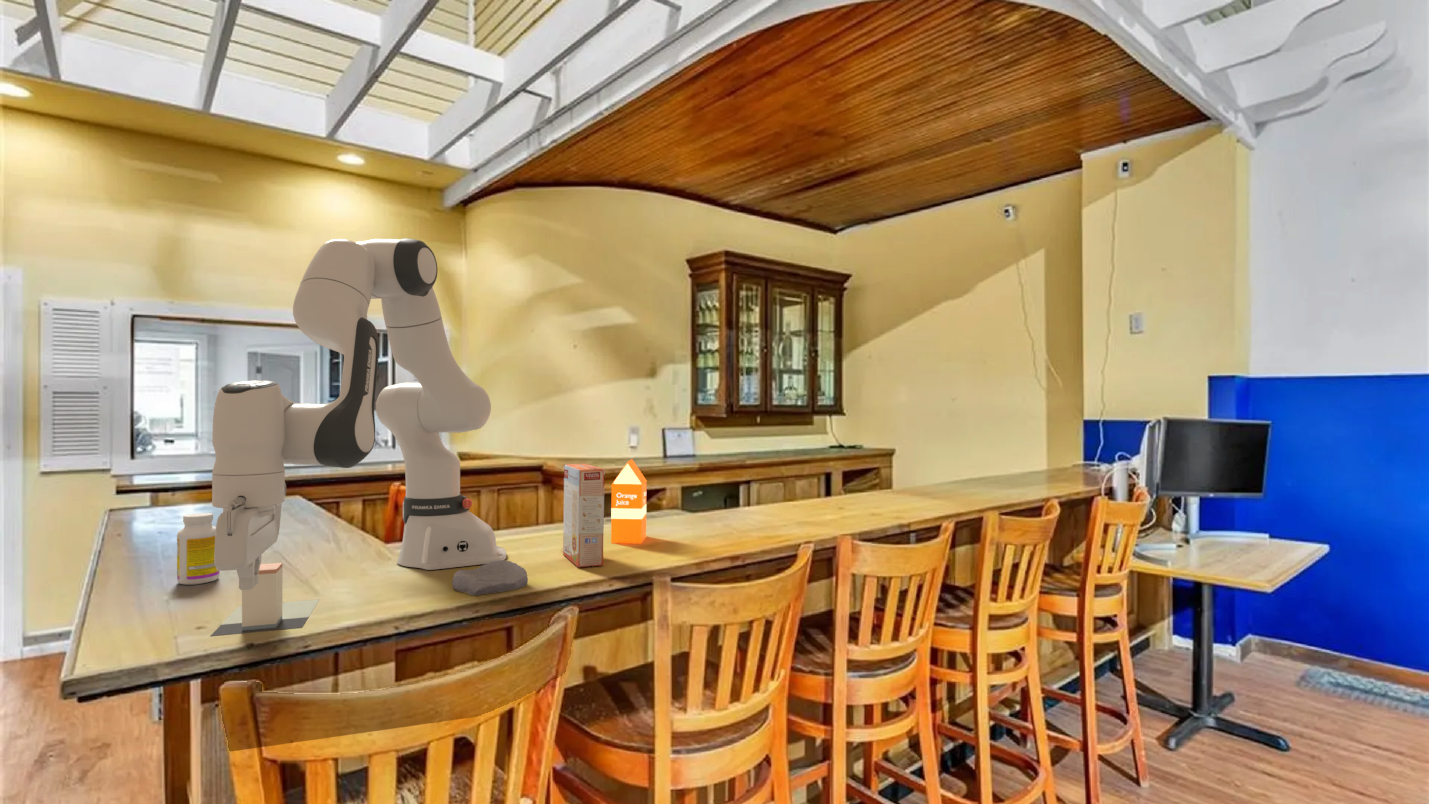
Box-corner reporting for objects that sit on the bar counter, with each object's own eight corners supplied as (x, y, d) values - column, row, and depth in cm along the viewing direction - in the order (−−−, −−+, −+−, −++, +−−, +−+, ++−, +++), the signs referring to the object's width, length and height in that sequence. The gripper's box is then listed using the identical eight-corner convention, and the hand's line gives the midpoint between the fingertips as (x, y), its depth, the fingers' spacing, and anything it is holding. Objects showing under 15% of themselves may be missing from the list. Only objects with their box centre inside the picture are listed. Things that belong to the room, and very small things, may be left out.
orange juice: (610, 542, 177) (611, 461, 177) (616, 535, 186) (617, 458, 185) (642, 543, 177) (642, 462, 176) (646, 536, 185) (647, 459, 185)
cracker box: (605, 566, 153) (605, 468, 153) (577, 569, 150) (577, 469, 150) (588, 552, 166) (588, 462, 165) (562, 555, 163) (562, 463, 163)
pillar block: (282, 618, 115) (282, 562, 114) (276, 627, 110) (276, 569, 110) (249, 621, 113) (249, 564, 113) (241, 630, 109) (242, 571, 109)
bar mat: (319, 601, 125) (319, 599, 125) (302, 630, 110) (302, 627, 110) (239, 608, 121) (239, 605, 121) (210, 638, 106) (210, 636, 106)
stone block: (532, 595, 138) (502, 576, 144) (535, 571, 137) (504, 553, 143) (478, 611, 129) (448, 590, 135) (480, 586, 128) (450, 566, 134)
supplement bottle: (227, 578, 140) (228, 512, 140) (195, 587, 134) (195, 518, 134) (201, 575, 142) (201, 511, 142) (168, 584, 136) (168, 516, 136)
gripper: (256, 501, 95) (256, 605, 95) (288, 483, 114) (288, 569, 115) (200, 503, 93) (199, 609, 93) (242, 484, 112) (242, 572, 112)
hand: (248, 587), depth 104 cm, fingers closed
